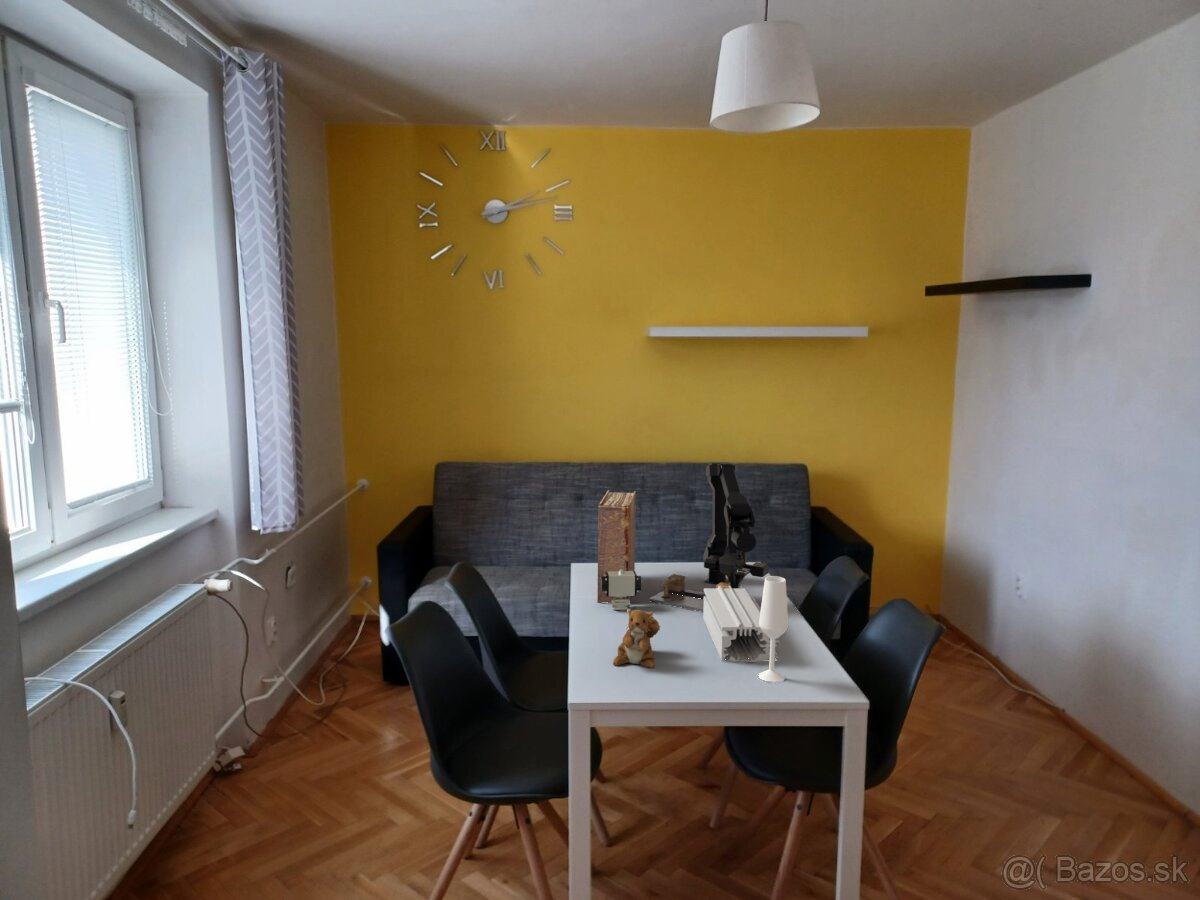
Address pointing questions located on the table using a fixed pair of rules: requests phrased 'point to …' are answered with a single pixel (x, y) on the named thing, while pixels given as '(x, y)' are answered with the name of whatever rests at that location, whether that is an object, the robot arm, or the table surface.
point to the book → (616, 536)
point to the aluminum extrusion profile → (735, 625)
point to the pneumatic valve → (620, 587)
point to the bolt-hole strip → (679, 601)
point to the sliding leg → (723, 585)
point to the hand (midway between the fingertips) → (735, 593)
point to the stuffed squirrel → (638, 639)
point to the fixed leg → (674, 583)
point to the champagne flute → (773, 619)
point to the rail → (688, 593)
